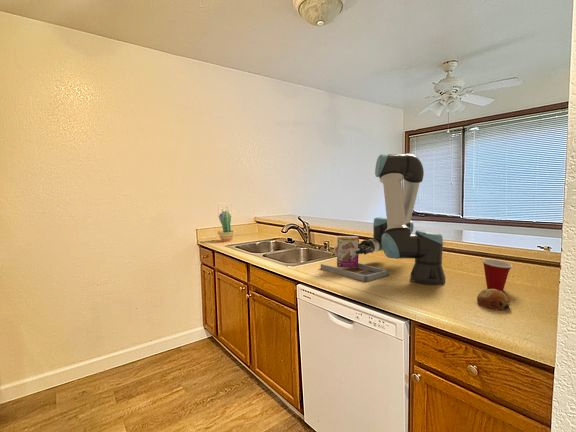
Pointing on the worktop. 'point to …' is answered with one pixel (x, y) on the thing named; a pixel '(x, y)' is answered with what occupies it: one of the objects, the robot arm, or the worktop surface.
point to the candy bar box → (347, 251)
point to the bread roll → (493, 299)
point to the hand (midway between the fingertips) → (342, 251)
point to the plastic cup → (496, 273)
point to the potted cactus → (226, 227)
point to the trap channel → (365, 275)
